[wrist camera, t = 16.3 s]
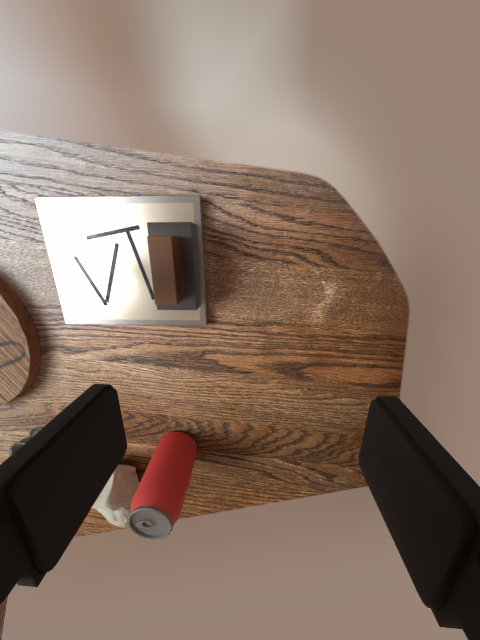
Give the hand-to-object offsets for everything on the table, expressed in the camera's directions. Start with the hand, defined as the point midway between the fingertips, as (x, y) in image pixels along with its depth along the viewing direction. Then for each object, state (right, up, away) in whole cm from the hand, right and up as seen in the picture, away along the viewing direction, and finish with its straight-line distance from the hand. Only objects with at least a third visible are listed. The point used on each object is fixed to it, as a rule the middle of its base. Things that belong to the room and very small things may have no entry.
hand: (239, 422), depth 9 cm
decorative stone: (-22, -25, +34) cm, 48 cm away
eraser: (-8, +11, +21) cm, 24 cm away
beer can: (-10, -17, +31) cm, 37 cm away
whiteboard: (-15, +11, +22) cm, 29 cm away
